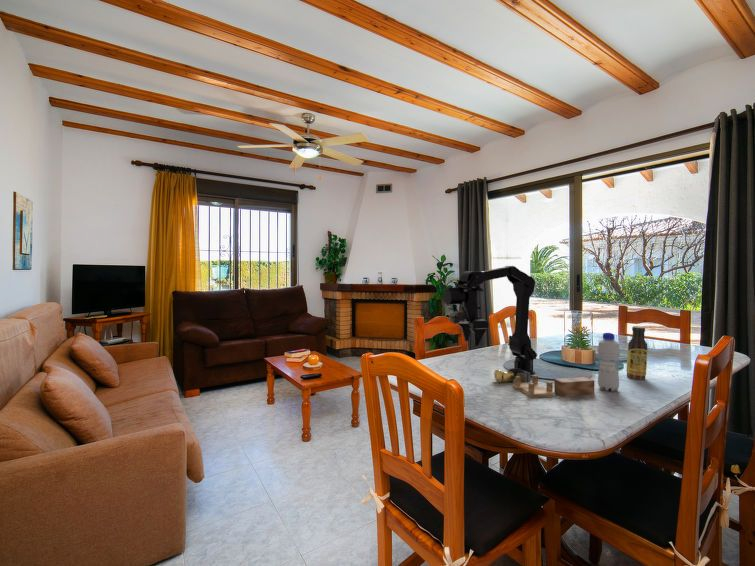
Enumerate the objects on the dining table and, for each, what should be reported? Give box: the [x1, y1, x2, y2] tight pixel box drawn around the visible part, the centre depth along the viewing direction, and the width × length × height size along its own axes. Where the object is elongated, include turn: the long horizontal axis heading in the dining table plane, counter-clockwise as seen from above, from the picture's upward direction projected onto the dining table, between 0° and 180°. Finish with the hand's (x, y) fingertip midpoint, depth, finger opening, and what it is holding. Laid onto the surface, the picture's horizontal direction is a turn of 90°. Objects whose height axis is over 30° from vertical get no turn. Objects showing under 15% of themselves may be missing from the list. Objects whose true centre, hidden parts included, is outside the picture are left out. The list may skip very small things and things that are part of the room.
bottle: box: [597, 332, 621, 392], centre depth 129 cm, size 7×7×20 cm
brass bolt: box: [493, 369, 515, 383], centre depth 139 cm, size 6×5×5 cm
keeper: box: [507, 367, 531, 383], centre depth 140 cm, size 5×8×4 cm, turn 11°
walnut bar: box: [553, 376, 596, 398], centre depth 125 cm, size 12×4×5 cm, turn 99°
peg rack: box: [512, 374, 556, 399], centre depth 128 cm, size 12×8×4 cm, turn 11°
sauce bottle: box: [626, 326, 648, 381], centre depth 141 cm, size 6×6×20 cm
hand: (471, 343), depth 143 cm, fingers open, 9 cm apart
